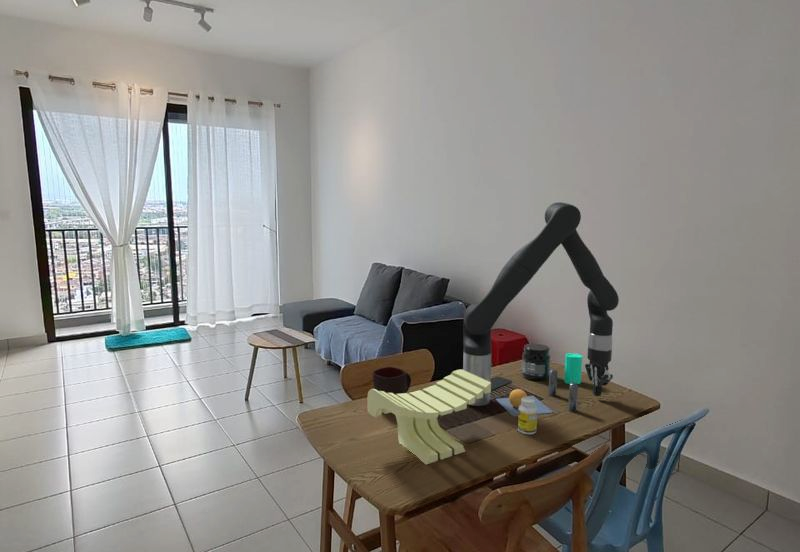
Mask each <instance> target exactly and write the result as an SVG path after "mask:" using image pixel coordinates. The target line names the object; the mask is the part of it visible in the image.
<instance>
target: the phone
mask: <svg viewBox="0 0 800 552" xmlns="http://www.w3.org/2000/svg"><path fill="white" fill-rule="evenodd" d="M490 382H491V392H493V391H495V390H498V389H500V388H501V387H504V386H507V385H510V384H511V383H513V380H511V379H508V378H505V377H502V376H494V377H491V380H490Z"/></svg>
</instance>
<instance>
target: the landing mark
mask: <svg viewBox="0 0 800 552" xmlns="http://www.w3.org/2000/svg"><path fill="white" fill-rule="evenodd" d="M527 397H532V398H534V399H535V406H536V407H537V415H544V414H546V415H547V414H554V411H553V410H551V408H549V407H548V406H547V405H545V404H544V403H543V402H542V401H540V400H539V399H538V398H537V397H535V396H534V395H527ZM495 400H496V402H497V403H499V405H500V406H501V407H503V408H504V409H505V411H507V412H508V413H509V414H510V416H511V417H518V410H519V408H516V407H514V406H513V405H512V404H511V403H510V401H509V397H502V398H501V397H499V398H495Z"/></svg>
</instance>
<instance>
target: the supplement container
mask: <svg viewBox="0 0 800 552" xmlns="http://www.w3.org/2000/svg"><path fill="white" fill-rule="evenodd" d="M550 350H551V349H550V346H548V345H546V344H541V343H527V344H524V347H523V351H524V352H523V353H522V355H521V356H522V366H521V367H522V368H521V375H522V376H523V377H524V378H525V379H527V380H529V381H530V380H531V381H537V382H540V381H541V382H542V381H546V380H549V373H550V370H551V358H552V357H551V354H550Z"/></svg>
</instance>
